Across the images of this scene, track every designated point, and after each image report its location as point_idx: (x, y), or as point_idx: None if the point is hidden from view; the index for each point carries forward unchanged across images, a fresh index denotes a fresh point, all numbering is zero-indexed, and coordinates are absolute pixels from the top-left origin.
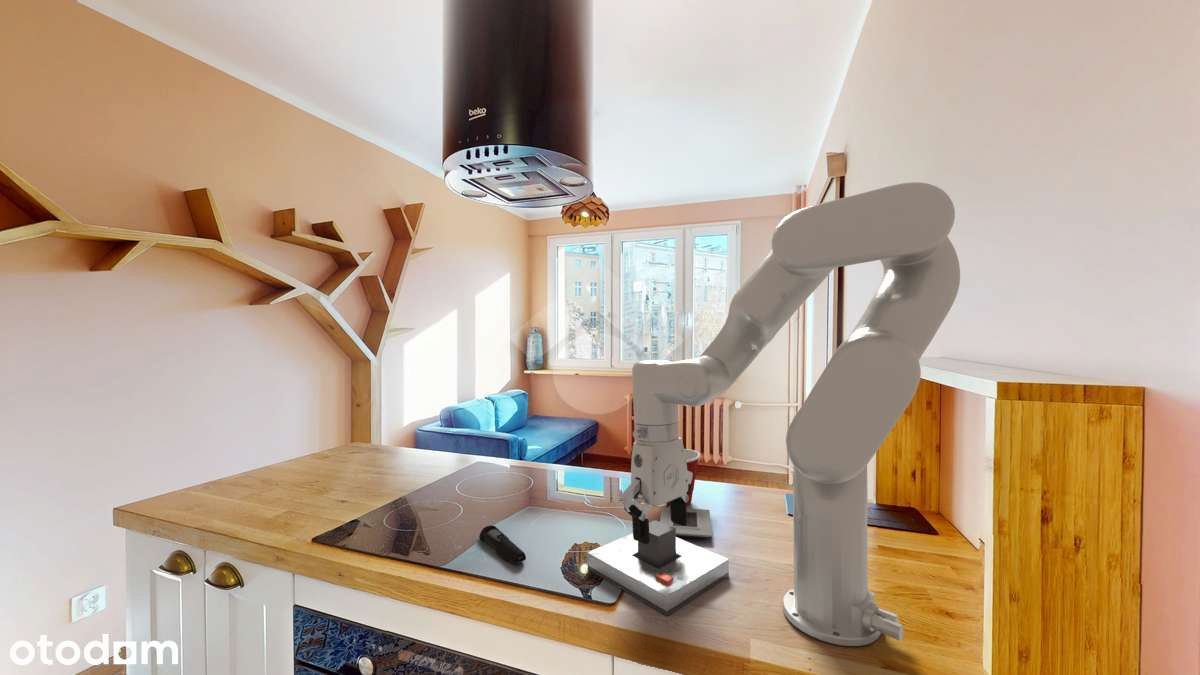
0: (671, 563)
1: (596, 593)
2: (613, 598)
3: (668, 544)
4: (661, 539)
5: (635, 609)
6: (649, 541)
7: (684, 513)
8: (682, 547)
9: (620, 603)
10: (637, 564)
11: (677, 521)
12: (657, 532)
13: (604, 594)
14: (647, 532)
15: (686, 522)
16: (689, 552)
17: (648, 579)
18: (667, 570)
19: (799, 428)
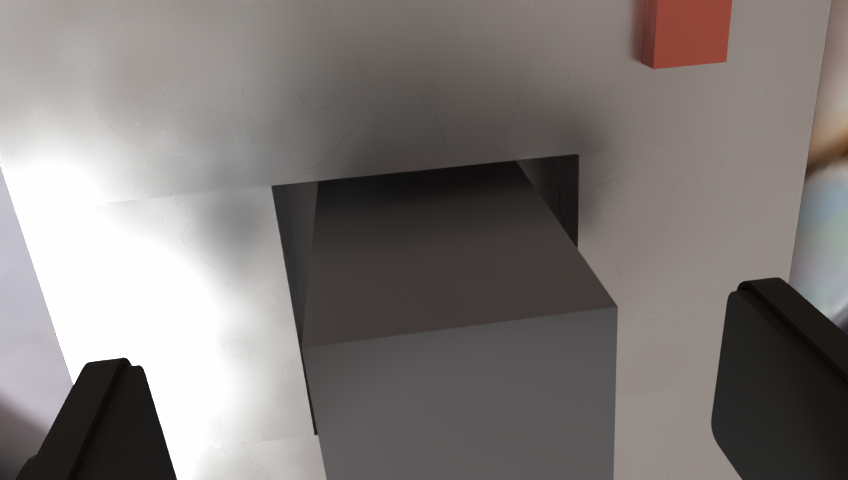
0: (436, 152)
1: (842, 280)
2: (822, 189)
3: (423, 263)
4: (546, 289)
5: (830, 22)
6: (738, 290)
7: (79, 461)
8: (166, 286)
9: (836, 126)
10: (642, 287)
11: (157, 452)
12: (552, 373)
13: (823, 248)
14: (838, 341)
15: (88, 376)
16: (172, 195)
17: (753, 84)
18: (545, 91)
19: None
